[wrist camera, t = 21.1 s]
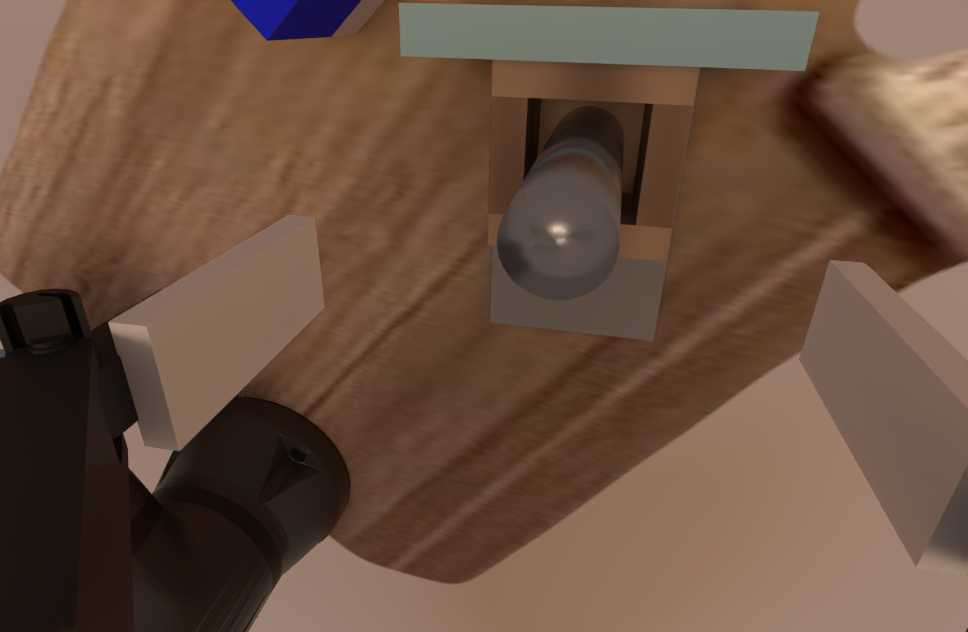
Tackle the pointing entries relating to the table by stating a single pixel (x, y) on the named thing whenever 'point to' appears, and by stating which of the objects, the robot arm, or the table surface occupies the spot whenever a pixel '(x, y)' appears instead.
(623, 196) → the brown wooden box
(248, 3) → the puzzle toy
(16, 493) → the robot arm
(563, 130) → the dowel
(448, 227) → the table surface
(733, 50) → the backstop
